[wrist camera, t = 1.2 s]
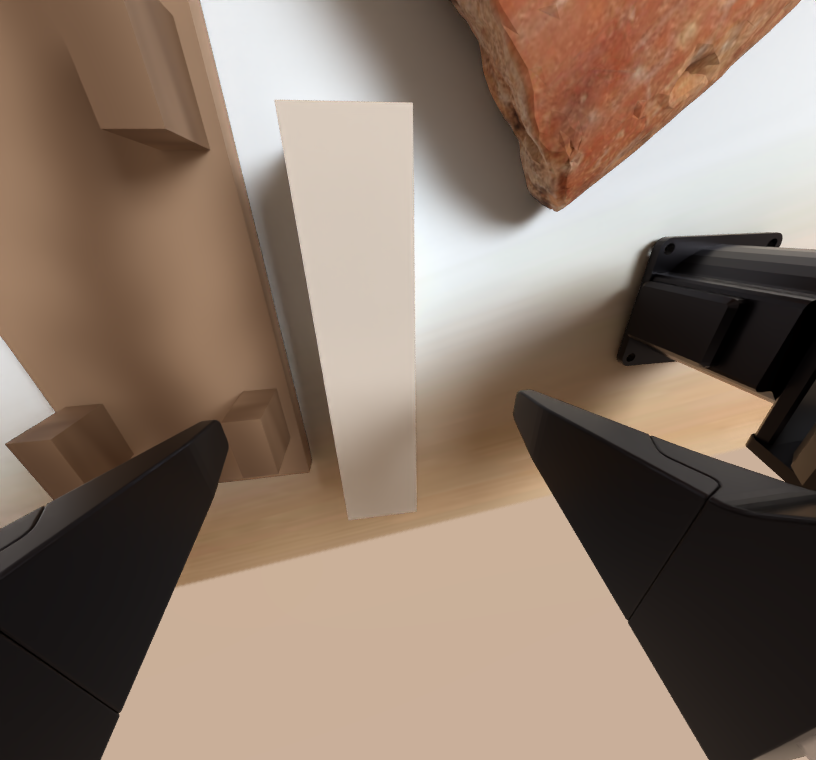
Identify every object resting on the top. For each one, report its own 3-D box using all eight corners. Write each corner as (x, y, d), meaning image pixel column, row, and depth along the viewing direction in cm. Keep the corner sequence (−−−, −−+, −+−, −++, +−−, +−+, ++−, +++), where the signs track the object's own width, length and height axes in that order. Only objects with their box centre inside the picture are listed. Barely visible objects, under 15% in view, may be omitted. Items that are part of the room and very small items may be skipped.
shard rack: (176, -97, 8) (59, -296, 5) (312, 459, 17) (301, 510, 14) (-278, -129, 7) (-783, -405, 4) (128, 480, 16) (74, 539, 13)
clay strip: (397, 140, 11) (412, 102, 8) (407, 457, 19) (416, 511, 15) (303, 139, 11) (274, 99, 7) (351, 464, 18) (348, 520, 15)
